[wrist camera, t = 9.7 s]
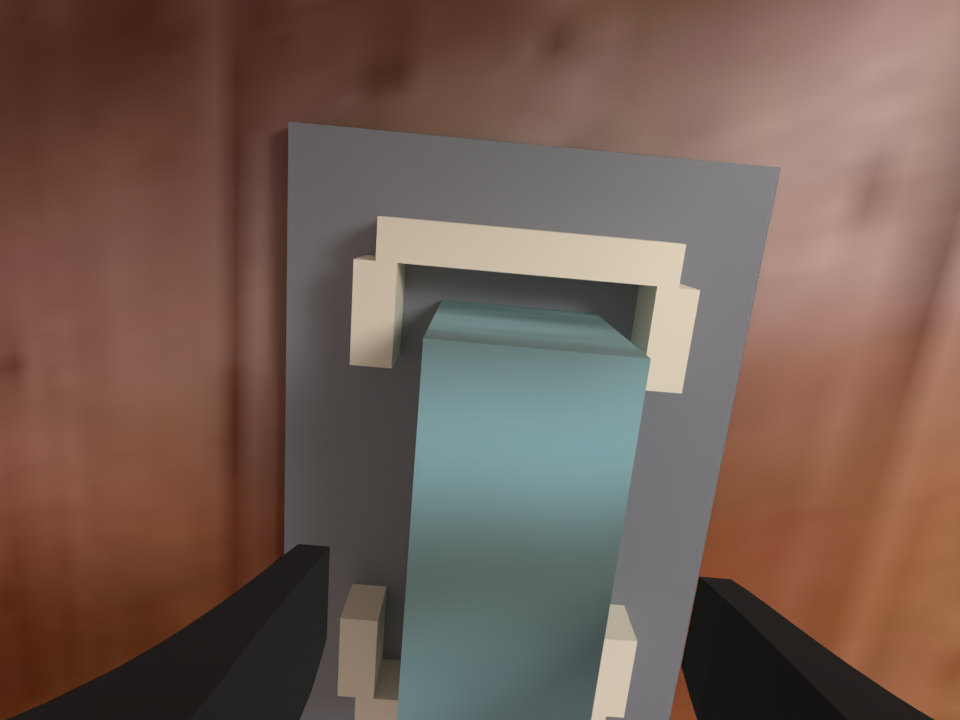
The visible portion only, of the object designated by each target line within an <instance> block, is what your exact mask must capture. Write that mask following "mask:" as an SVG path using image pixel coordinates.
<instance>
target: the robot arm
mask: <svg viewBox="0 0 960 720" xmlns="http://www.w3.org/2000/svg"><path fill="white" fill-rule="evenodd" d="M329 558H330V547H329V546H317V545H305V544H298V545H296V546H295V547H294V548H292V549H291V550H290V551H288V552H287V553H286V554H285V555H283V556H282V557H281V558H279V559H278V560H277V561H276V562H274V563H273V564H272V565H270V566H269V567H268V568H267V569H265V570H264V571H263V572H261V573H260V574H259V575H258V576H256V577H255V578H254V579H252V580H251V581H250V582H249V583H247V584H246V585H245V586H243V587H242V588H241V589H239V590H238V591H237V592H235V593H234V594H233V595H231V596H230V597H229V598H227V599H226V600H225V601H223V602H222V603H220V604H219V605H217V606H216V607H214V608H213V609H211V610H210V611H208V612H207V613H205V614H204V615H203V616H201V617H200V618H198V619H197V620H195V621H194V622H192V623H191V624H189V625H188V626H186V627H185V628H183V629H182V630H181V631H179V632H177V633H176V634H174V635H173V636H171V637H169V638H168V639H166V640H165V641H163V642H161V643H160V644H158V645H156V646H155V647H153V648H151V649H150V650H148V651H146V652H144V653H142V654H141V655H139V656H137V657H135V658H134V659H132V660H130V661H128V662H126V663H125V664H123V665H121V666H119V667H117V668H116V669H114V670H112V671H110V672H108V673H106V674H104V675H102V676H100V677H98V678H96V679H94V680H92V681H90V682H88V683H85V684H83V685H81V686H79V687H77V688H75V689H73V690H71V691H69V692H67V693H65V694H63V695H61V696H59V697H57V698H55V699H53V700H51V701H48V702H46V703H44V704H42V705H40V706H38V707H35V708H33V709H31V710H28V711H26V712H24V713H21V714H19V715H17V716H14V717H12V718H10V719H7V720H300V718H301V716H302V713H303V711H304V708H305V706H306V703H307V701H308V698H309V696H310V694H311V691H312V688H313V685H314V681H315V678H316V675H317V671H318V668H319V665H320V661H321V657H322V654H323V650H324V647H325V643H326V640H327V621H328V589H329ZM682 670H683V673H684V677H685V681H686V684H687V688H688V691H689V695H690V698H691V701H692V704H693V708H694V711H695V714H696V717H697V720H934V719H932V718H930V717H929V716H927V715H925V714H924V713H922V712H920V711H919V710H917V709H915V708H914V707H912V706H911V705H909V704H907V703H906V702H904V701H903V700H901V699H900V698H898V697H896V696H895V695H893V694H892V693H890V692H889V691H887V690H886V689H884V688H883V687H881V686H880V685H878V684H877V683H875V682H874V681H872V680H871V679H869V678H868V677H866V676H865V675H863V674H862V673H860V672H859V671H858V670H856V669H855V668H853V667H852V666H850V665H849V664H847V663H846V662H845V661H843V660H842V659H840V658H839V657H837V656H836V655H835V654H833V653H832V652H830V651H829V650H828V649H826V648H825V647H824V646H822V645H821V644H819V643H818V642H817V641H815V640H814V639H813V638H811V637H810V636H809V635H807V634H806V633H804V632H803V631H802V630H800V629H799V628H798V627H796V626H795V625H794V624H792V623H791V622H790V621H788V620H787V619H786V618H784V617H783V616H782V615H780V614H779V613H778V612H776V611H775V610H774V609H772V608H771V607H770V606H768V605H767V604H766V603H764V602H763V601H761V600H760V599H759V598H757V597H756V596H755V595H753V594H752V593H750V592H749V591H748V590H746V589H745V588H743V587H742V586H740V585H739V584H737V583H735V582H734V581H732V580H731V579H720V578H708V577H699V581H698V586H697V591H696V596H695V601H694V606H693V611H692V616H691V621H690V626H689V631H688V636H687V641H686V646H685V651H684V656H683V661H682Z"/></svg>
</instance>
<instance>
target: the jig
mask: <svg viewBox="0 0 960 720" xmlns="http://www.w3.org/2000/svg"><path fill="white" fill-rule="evenodd" d="M780 169H781V168H777V167H766V166H756V165H745V164H735V163H724V162H713V161H703V160H692V159H681V158H671V157H660V156H650V155H639V154H628V153H618V152H607V151H597V150H586V149H575V148H565V147H554V146H543V145H533V144H522V143H512V142H501V141H490V140H480V139H469V138H458V137H448V136H437V135H427V134H416V133H405V132H395V131H384V130H373V129H363V128H352V127H342V126H331V125H320V124H310V123H299V122H289V121H288V211H287V311H286V411H285V511H284V555H285V554H286V553H287V552H288V551H290V550H291V549H292V548H294V547H295V546H296V545H298V544H305V545H317V546H329V547H330V558H329V589H328V621H327V640H326V643H325V647H324V650H323V654H322V657H321V661H320V665H319V668H318V671H317V675H316V678H315V681H314V685H313V688H312V691H311V694H310V696H309V698H308V701H307V703H306V706H305V708H304V711H303V713H302V716H301V718H300V720H397V709H398V695H399V680H400V666H401V651H402V637H403V623H404V608H405V594H406V579H407V565H408V550H409V536H410V522H411V507H412V493H413V478H414V464H415V449H416V435H417V421H418V406H419V392H420V377H421V363H422V348H423V338H424V336H425V334H426V332H427V330H428V328H429V326H430V323H431V321H432V319H433V317H434V315H435V313H436V311H437V309H438V307H439V305H440V303H441V301H442V300H452V301H463V302H474V303H485V304H496V305H507V306H518V307H529V308H540V309H551V310H562V311H573V312H584V313H595V314H597V315H598V316H600V317H601V318H602V319H603V320H604V321H606V322H607V323H608V324H609V325H610V326H612V327H613V328H614V329H615V330H617V331H618V332H619V333H620V334H621V335H623V336H624V337H625V338H626V339H627V340H629V341H630V342H631V343H632V344H633V345H635V346H636V347H637V348H638V349H640V350H641V351H642V352H643V353H644V354H646V355H647V356H648V357H649V358H650V359H651V361H650V367H649V373H648V379H647V385H646V391H645V397H644V403H643V409H642V415H641V421H640V427H639V433H638V439H637V445H636V452H635V458H634V464H633V470H632V476H631V482H630V488H629V494H628V500H627V506H626V512H625V518H624V524H623V530H622V536H621V542H620V548H619V554H618V560H617V566H616V572H615V578H614V584H613V590H612V596H611V602H610V608H609V614H608V621H607V627H606V633H605V639H604V645H603V651H602V657H601V663H600V669H599V675H598V681H597V687H596V693H595V699H594V705H593V711H592V717H591V720H669V719H670V714H671V709H672V704H673V699H674V694H675V689H676V684H677V679H678V674H679V669H680V664H681V659H682V654H683V649H684V644H685V639H686V635H687V630H688V625H689V620H690V615H691V610H692V605H693V600H694V595H695V590H696V585H697V580H698V575H699V570H700V565H701V560H702V555H703V550H704V545H705V540H706V535H707V530H708V526H709V521H710V516H711V511H712V506H713V501H714V496H715V491H716V486H717V481H718V476H719V471H720V466H721V461H722V456H723V451H724V446H725V441H726V436H727V431H728V426H729V421H730V416H731V412H732V407H733V402H734V397H735V392H736V387H737V382H738V377H739V372H740V367H741V362H742V357H743V352H744V347H745V342H746V337H747V332H748V327H749V322H750V317H751V312H752V307H753V303H754V298H755V293H756V288H757V283H758V278H759V273H760V268H761V263H762V258H763V253H764V248H765V243H766V238H767V233H768V228H769V223H770V218H771V213H772V208H773V203H774V198H775V194H776V189H777V184H778V179H779V174H780Z"/></svg>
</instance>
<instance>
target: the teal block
mask: <svg viewBox="0 0 960 720" xmlns="http://www.w3.org/2000/svg"><path fill="white" fill-rule="evenodd" d="M650 361H651V359H650V358H649V357H648V356H647V355H646V354H644V353H643V352H642V351H641V350H640V349H638V348H637V347H636V346H635V345H633V344H632V343H631V342H630V341H629V340H627V339H626V338H625V337H624V336H623V335H621V334H620V333H619V332H618V331H617V330H615V329H614V328H613V327H612V326H610V325H609V324H608V323H607V322H606V321H604V320H603V319H602V318H601V317H600V316H598V315H597V314H595V313H584V312H573V311H562V310H551V309H540V308H529V307H518V306H507V305H496V304H485V303H474V302H463V301H452V300H442V301H441V303H440V305H439V307H438V309H437V311H436V313H435V315H434V317H433V319H432V321H431V323H430V326H429V328H428V330H427V332H426V334H425V336H424V338H423V348H422V363H421V377H420V392H419V406H418V421H417V435H416V449H415V464H414V478H413V493H412V507H411V522H410V536H409V550H408V565H407V579H406V594H405V608H404V623H403V637H402V651H401V666H400V680H399V695H398V709H397V720H591V717H592V711H593V705H594V699H595V693H596V687H597V681H598V675H599V669H600V663H601V657H602V651H603V645H604V639H605V633H606V627H607V621H608V614H609V608H610V602H611V596H612V590H613V584H614V578H615V572H616V566H617V560H618V554H619V548H620V542H621V536H622V530H623V524H624V518H625V512H626V506H627V500H628V494H629V488H630V482H631V476H632V470H633V464H634V458H635V452H636V445H637V439H638V433H639V427H640V421H641V415H642V409H643V403H644V397H645V391H646V385H647V379H648V373H649V367H650Z"/></svg>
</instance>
